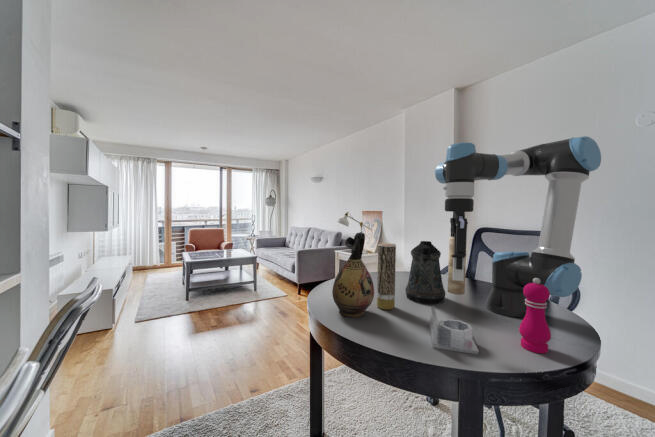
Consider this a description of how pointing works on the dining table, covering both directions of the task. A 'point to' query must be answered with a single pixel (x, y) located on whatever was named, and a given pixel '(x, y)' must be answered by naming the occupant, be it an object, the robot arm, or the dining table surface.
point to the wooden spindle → (453, 285)
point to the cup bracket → (452, 335)
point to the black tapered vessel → (425, 275)
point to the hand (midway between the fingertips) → (456, 278)
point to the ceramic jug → (353, 281)
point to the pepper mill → (535, 318)
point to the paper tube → (386, 276)
